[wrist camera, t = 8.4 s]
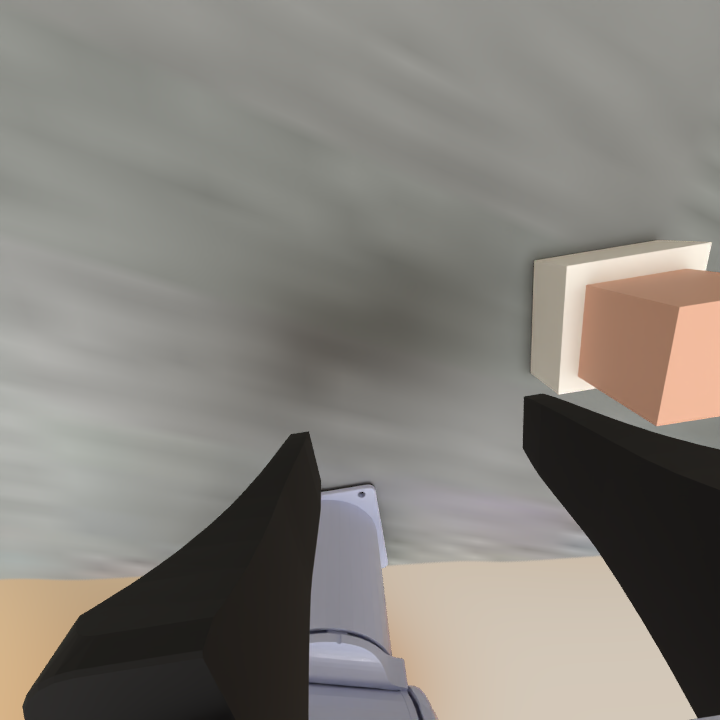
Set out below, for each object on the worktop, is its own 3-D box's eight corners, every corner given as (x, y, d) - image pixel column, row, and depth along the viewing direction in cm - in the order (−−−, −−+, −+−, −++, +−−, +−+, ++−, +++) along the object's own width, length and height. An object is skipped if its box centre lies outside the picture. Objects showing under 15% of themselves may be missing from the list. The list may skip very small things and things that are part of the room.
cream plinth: (530, 373, 22) (558, 394, 19) (534, 260, 19) (566, 266, 16) (639, 355, 22) (683, 374, 19) (657, 239, 19) (711, 242, 16)
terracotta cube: (577, 376, 19) (656, 426, 14) (586, 284, 17) (679, 307, 12) (669, 361, 19) (777, 407, 14) (687, 268, 17) (819, 284, 12)
